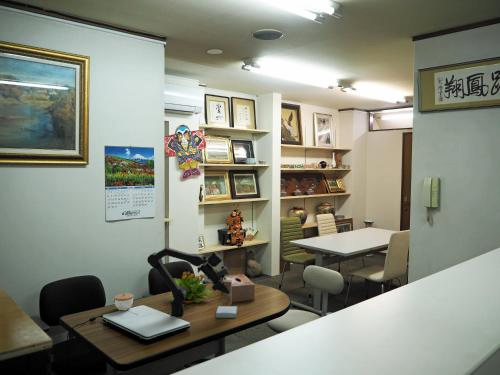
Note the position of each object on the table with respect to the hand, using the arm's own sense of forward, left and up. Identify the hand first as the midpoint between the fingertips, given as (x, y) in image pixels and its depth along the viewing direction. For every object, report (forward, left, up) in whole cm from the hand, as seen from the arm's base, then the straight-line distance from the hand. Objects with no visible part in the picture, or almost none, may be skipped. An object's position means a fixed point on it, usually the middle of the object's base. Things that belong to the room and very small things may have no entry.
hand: (229, 292), depth 228 cm
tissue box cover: (+2, +38, -14) cm, 41 cm away
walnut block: (-1, 0, -7) cm, 7 cm away
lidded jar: (-64, +9, -14) cm, 66 cm away
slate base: (-2, +2, -13) cm, 14 cm away
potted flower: (-29, +25, -14) cm, 41 cm away
